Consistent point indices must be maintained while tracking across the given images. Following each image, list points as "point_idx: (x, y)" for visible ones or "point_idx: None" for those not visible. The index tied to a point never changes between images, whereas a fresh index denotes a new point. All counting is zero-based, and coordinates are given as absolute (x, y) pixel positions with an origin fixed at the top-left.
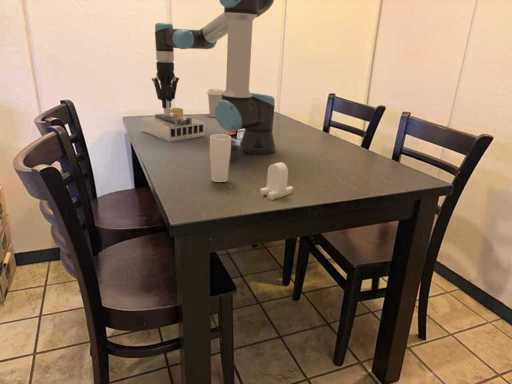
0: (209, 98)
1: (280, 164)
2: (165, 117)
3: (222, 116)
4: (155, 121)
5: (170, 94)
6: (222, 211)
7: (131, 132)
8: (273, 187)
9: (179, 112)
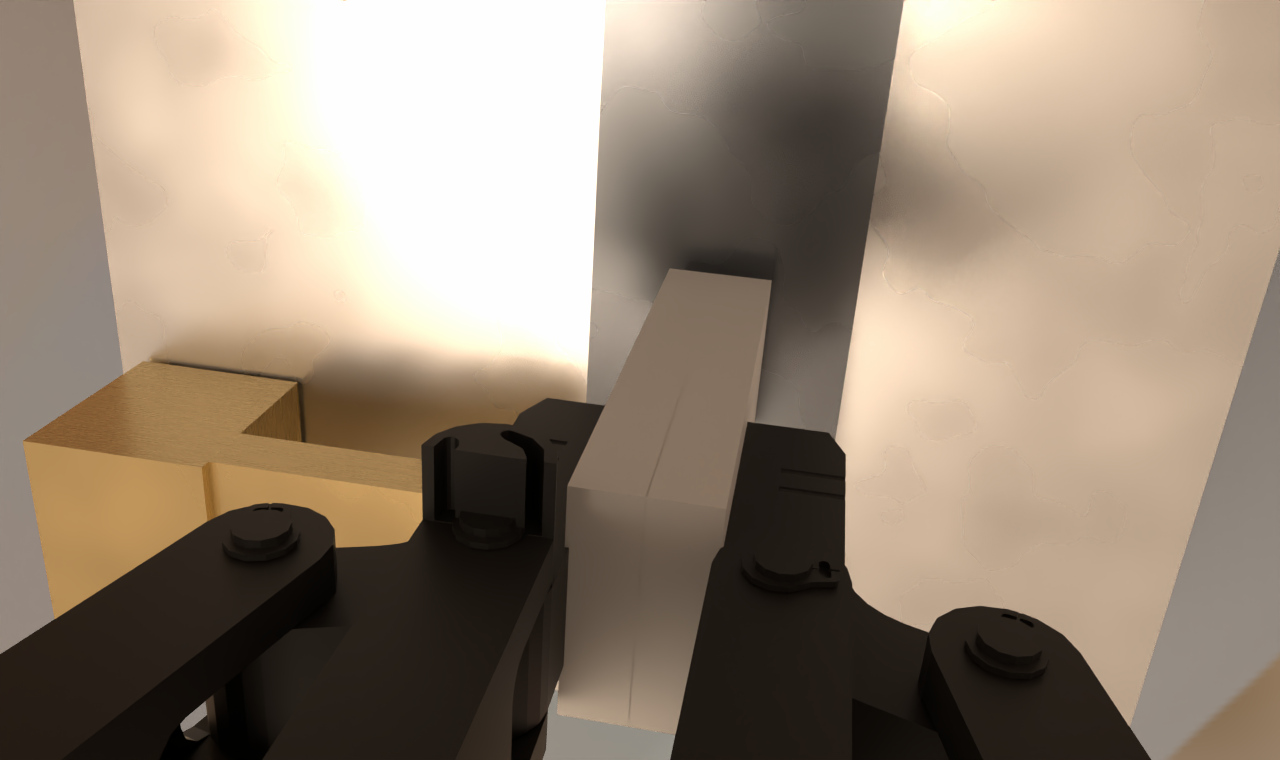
0: None
1: None
2: (850, 260)
3: None
4: (1206, 272)
5: (369, 694)
6: None
7: (1272, 660)
8: None
9: (196, 416)
